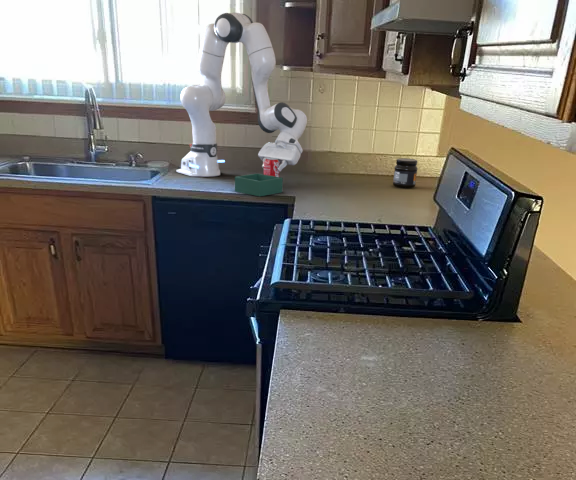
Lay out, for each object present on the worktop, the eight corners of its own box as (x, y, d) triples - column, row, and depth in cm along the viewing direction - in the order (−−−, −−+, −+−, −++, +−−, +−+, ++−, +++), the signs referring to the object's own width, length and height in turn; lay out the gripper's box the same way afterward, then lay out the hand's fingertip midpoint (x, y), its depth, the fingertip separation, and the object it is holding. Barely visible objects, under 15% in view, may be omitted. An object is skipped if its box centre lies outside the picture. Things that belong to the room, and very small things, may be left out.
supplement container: (417, 186, 284) (420, 159, 279) (412, 189, 276) (416, 162, 270) (395, 183, 288) (398, 157, 282) (390, 187, 279) (393, 160, 273)
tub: (234, 191, 257) (234, 176, 254) (257, 187, 267) (257, 173, 264) (259, 196, 249) (260, 181, 246) (282, 192, 259) (282, 177, 256)
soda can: (280, 185, 273) (280, 157, 267) (278, 188, 267) (279, 159, 261) (264, 184, 273) (265, 156, 268) (262, 187, 267) (262, 158, 262)
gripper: (264, 136, 271) (249, 161, 269) (300, 141, 261) (286, 167, 258) (270, 146, 277) (256, 171, 274) (306, 151, 266) (291, 176, 264)
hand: (270, 169), depth 266 cm, fingers closed on soda can, 7 cm apart
